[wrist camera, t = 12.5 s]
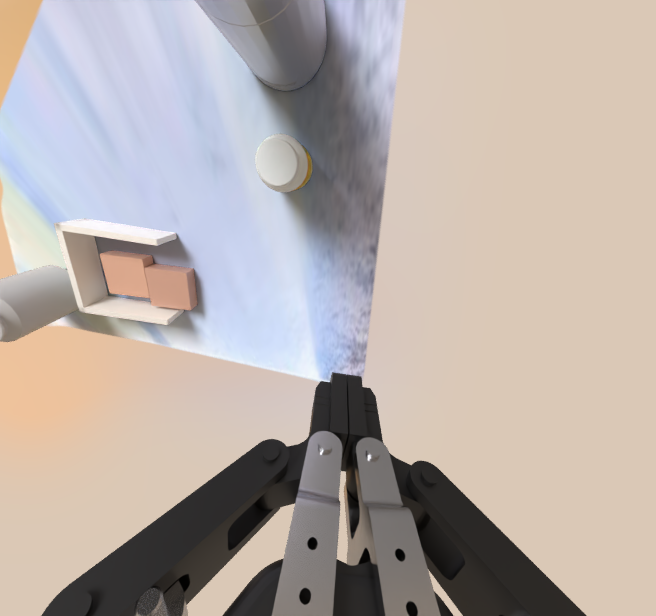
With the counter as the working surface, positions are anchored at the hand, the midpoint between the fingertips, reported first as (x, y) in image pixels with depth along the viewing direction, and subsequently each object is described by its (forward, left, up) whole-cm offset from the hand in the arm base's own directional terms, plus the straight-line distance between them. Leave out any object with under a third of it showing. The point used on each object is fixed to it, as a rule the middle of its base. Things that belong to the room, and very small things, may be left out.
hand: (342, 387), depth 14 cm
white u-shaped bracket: (+7, -30, -27) cm, 41 cm away
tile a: (+8, -30, -27) cm, 42 cm away
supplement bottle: (-10, -8, -27) cm, 30 cm away
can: (+12, -42, -27) cm, 51 cm away
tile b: (+9, -24, -27) cm, 38 cm away
